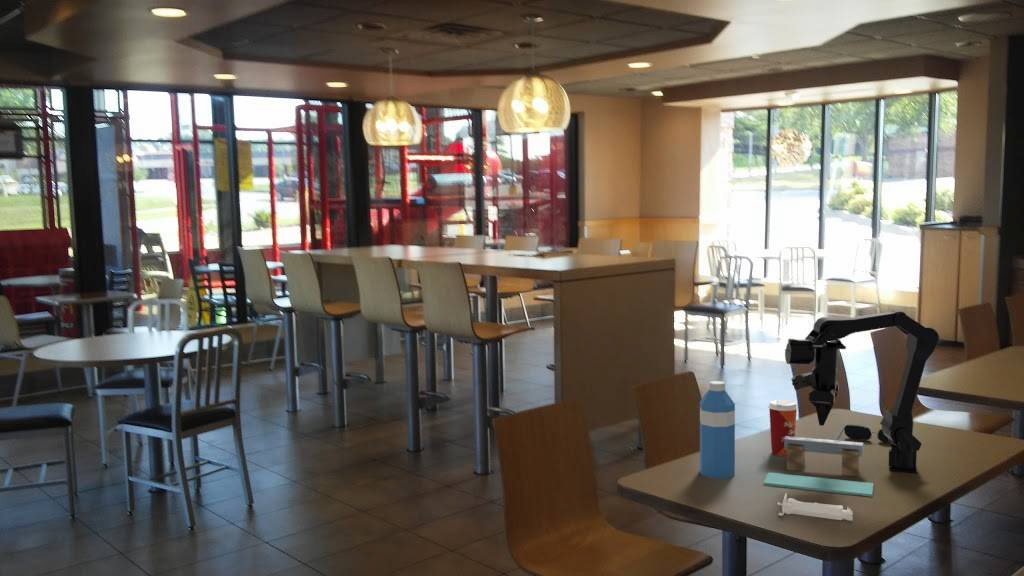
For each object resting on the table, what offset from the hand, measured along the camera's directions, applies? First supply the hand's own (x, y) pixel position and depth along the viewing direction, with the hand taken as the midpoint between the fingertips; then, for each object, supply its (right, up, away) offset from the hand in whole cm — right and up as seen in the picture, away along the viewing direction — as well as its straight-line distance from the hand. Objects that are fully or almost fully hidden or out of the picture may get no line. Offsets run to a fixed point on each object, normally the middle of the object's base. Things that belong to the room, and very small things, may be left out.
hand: (822, 421), depth 236 cm
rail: (0, -8, +1) cm, 8 cm away
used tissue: (-14, -18, -32) cm, 39 cm away
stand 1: (-6, -13, +4) cm, 15 cm away
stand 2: (+7, -13, -2) cm, 15 cm away
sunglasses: (+21, -11, +21) cm, 32 cm away
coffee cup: (-6, -12, +17) cm, 22 cm away
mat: (-5, -15, -12) cm, 19 cm away
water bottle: (-29, -14, 0) cm, 32 cm away
